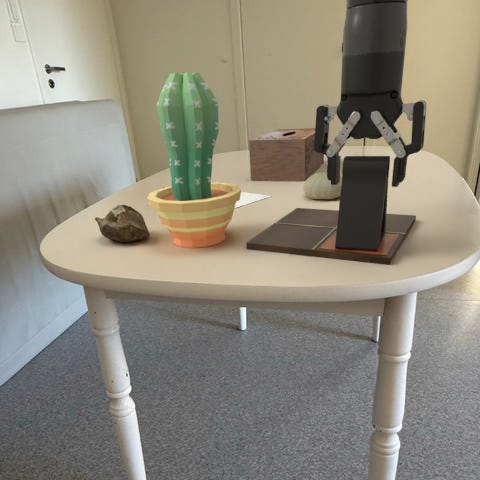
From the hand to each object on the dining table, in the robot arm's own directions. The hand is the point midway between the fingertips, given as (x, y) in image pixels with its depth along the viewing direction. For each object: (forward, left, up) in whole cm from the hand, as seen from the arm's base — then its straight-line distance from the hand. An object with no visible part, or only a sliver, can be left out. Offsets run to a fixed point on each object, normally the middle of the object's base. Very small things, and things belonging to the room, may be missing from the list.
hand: (364, 184), depth 63 cm
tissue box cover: (+35, -57, -10) cm, 68 cm away
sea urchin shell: (+16, -30, -10) cm, 36 cm away
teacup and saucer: (+40, -21, -9) cm, 46 cm away
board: (+6, -5, -9) cm, 12 cm away
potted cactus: (+27, +4, -10) cm, 28 cm away
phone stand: (0, 0, -8) cm, 8 cm away
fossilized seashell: (+40, +8, -10) cm, 41 cm away
